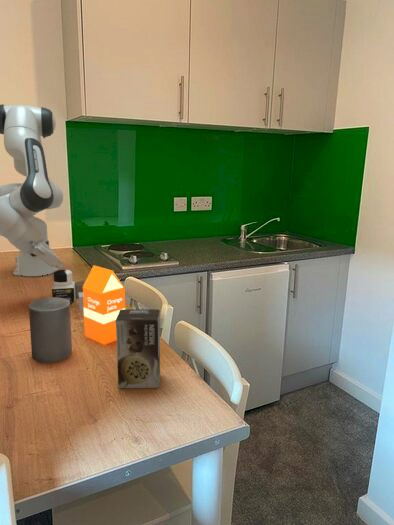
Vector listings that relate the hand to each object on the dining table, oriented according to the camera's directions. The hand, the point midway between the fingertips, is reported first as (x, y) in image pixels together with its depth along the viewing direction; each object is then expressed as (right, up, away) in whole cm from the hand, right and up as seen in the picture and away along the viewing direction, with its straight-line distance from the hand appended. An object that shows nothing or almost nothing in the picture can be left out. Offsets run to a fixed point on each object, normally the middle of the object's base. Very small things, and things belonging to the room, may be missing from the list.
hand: (62, 266), depth 133 cm
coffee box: (+33, -26, -44) cm, 61 cm away
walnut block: (+2, -11, +12) cm, 17 cm away
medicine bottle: (0, -13, +3) cm, 14 cm away
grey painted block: (+8, -14, 0) cm, 17 cm away
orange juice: (+20, -20, -22) cm, 35 cm away
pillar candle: (+9, -22, -33) cm, 41 cm away
